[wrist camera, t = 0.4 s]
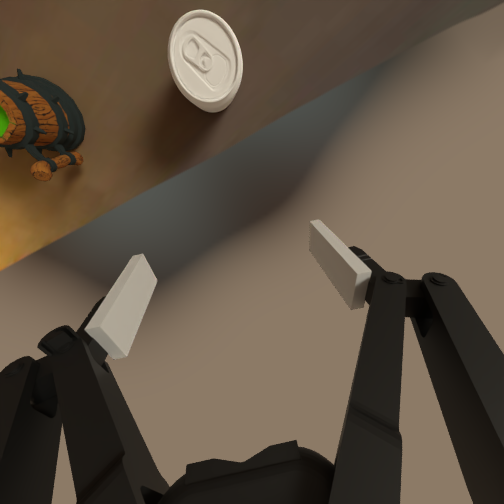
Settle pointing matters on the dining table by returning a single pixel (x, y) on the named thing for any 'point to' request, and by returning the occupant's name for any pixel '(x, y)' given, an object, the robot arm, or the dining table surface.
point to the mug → (40, 122)
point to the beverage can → (205, 60)
